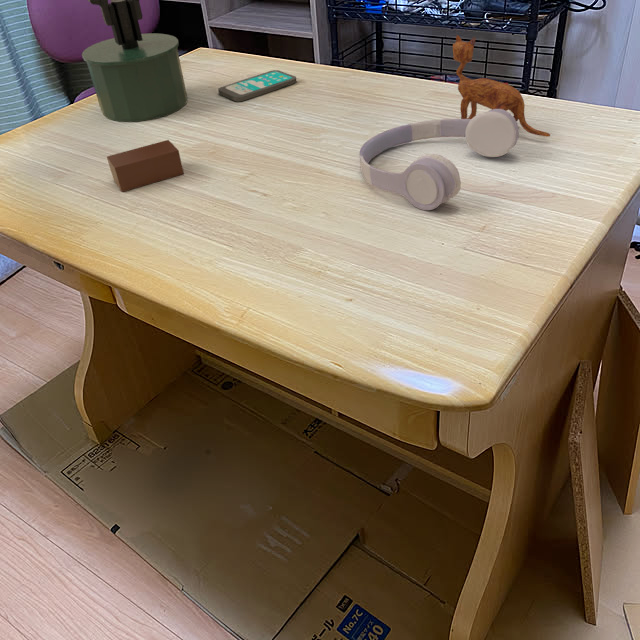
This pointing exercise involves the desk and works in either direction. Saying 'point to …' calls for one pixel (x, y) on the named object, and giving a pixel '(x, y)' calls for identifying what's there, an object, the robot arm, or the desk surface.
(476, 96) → the cat figurine
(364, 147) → the headphones
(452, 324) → the desk surface
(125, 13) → the tin lid
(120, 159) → the chocolate bar
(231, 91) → the smartphone
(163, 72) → the trash tin
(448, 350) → the desk surface
